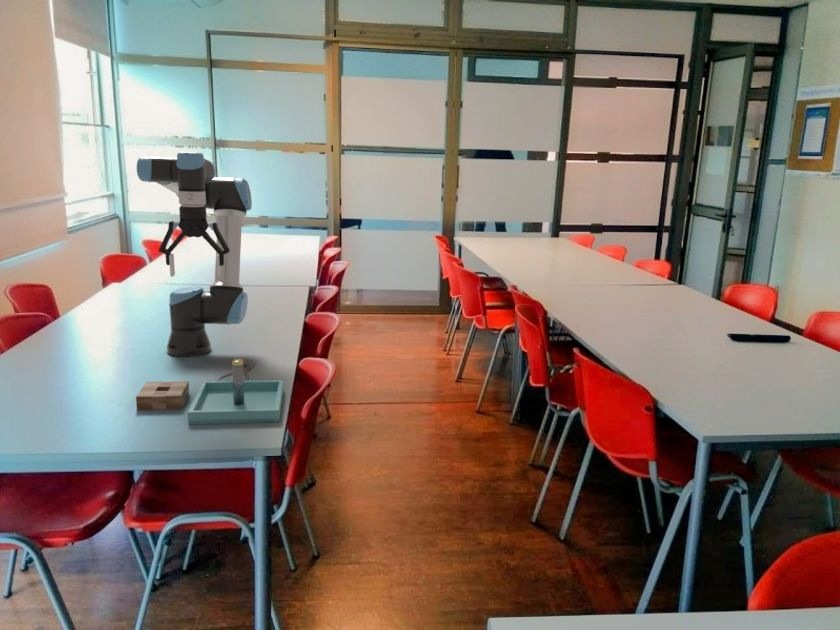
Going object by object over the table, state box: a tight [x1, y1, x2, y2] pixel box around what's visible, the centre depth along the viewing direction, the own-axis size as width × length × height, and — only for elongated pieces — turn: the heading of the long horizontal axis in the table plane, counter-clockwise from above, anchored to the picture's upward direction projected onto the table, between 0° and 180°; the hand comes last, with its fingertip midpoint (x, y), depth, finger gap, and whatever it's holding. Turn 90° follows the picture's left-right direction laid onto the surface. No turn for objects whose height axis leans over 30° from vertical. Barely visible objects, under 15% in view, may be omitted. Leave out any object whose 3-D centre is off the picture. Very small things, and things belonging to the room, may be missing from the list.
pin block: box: [135, 380, 190, 411], centre depth 189 cm, size 12×12×4 cm
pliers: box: [216, 362, 256, 381], centre depth 215 cm, size 10×1×20 cm
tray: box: [187, 379, 284, 425], centre depth 187 cm, size 24×24×4 cm
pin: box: [231, 358, 245, 405], centre depth 186 cm, size 3×3×13 cm
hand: (196, 276), depth 196 cm, fingers open, 13 cm apart
